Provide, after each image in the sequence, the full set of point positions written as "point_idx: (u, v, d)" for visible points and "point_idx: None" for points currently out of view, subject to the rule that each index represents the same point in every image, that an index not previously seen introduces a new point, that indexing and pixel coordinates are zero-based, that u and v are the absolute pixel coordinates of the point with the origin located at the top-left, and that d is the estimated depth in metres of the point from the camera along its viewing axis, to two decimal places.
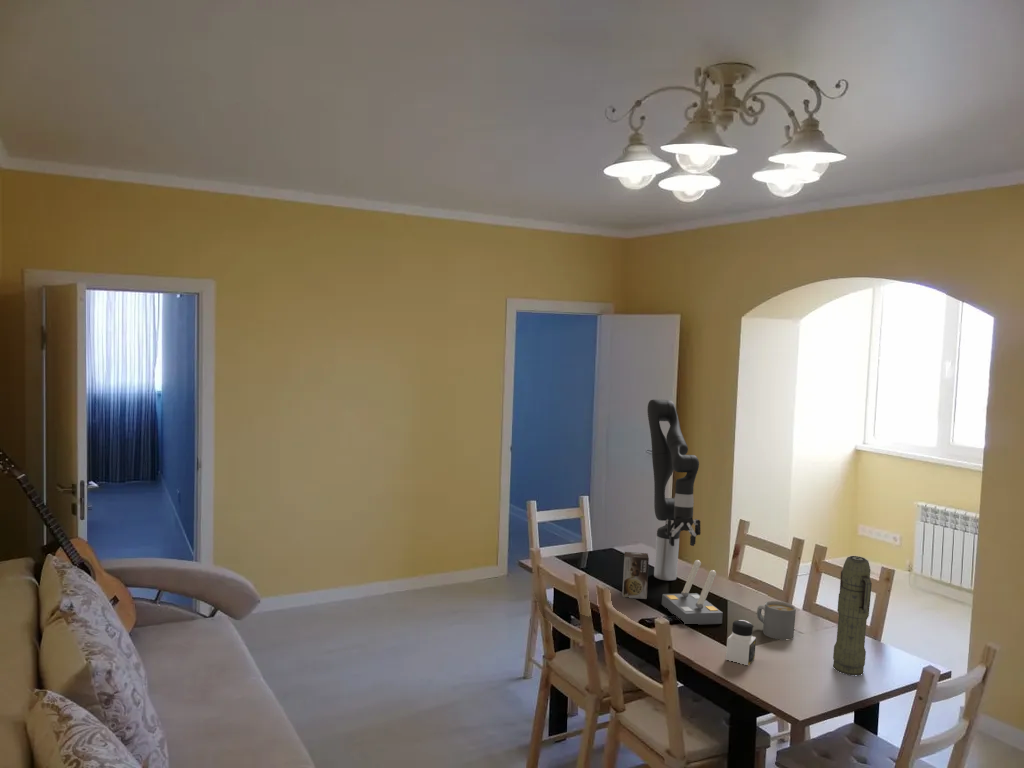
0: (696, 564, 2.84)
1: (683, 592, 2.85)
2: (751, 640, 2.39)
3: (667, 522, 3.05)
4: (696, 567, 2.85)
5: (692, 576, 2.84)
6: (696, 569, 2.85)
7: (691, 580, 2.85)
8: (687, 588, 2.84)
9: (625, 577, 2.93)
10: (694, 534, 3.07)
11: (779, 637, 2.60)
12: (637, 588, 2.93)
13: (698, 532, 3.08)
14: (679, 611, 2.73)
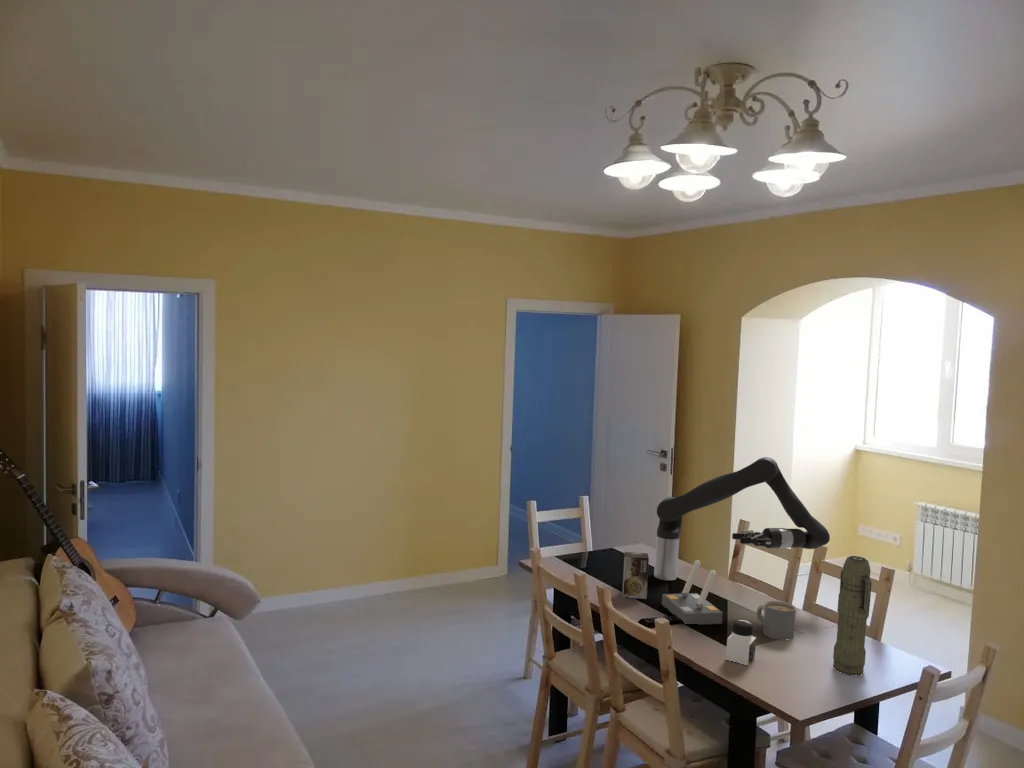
0: (696, 564, 2.84)
1: (683, 592, 2.85)
2: (751, 640, 2.39)
3: (768, 544, 2.84)
4: (696, 567, 2.85)
5: (692, 576, 2.84)
6: (696, 569, 2.85)
7: (691, 580, 2.85)
8: (687, 588, 2.84)
9: (625, 577, 2.93)
10: None
11: (779, 637, 2.60)
12: (637, 588, 2.93)
13: None
14: (679, 611, 2.73)
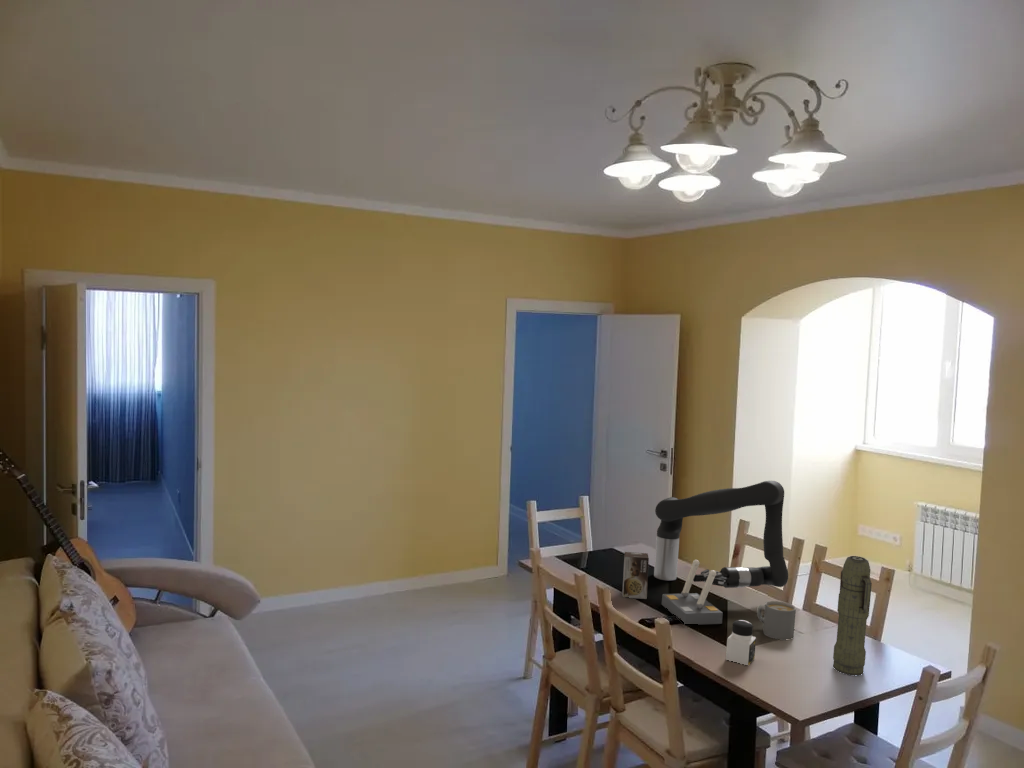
0: (695, 564, 2.84)
1: (683, 592, 2.85)
2: (751, 640, 2.39)
3: (720, 583, 2.82)
4: (695, 567, 2.84)
5: (691, 576, 2.84)
6: (695, 569, 2.84)
7: (690, 580, 2.84)
8: (687, 588, 2.84)
9: (625, 577, 2.93)
10: None
11: (779, 637, 2.60)
12: (637, 588, 2.93)
13: None
14: (679, 611, 2.73)
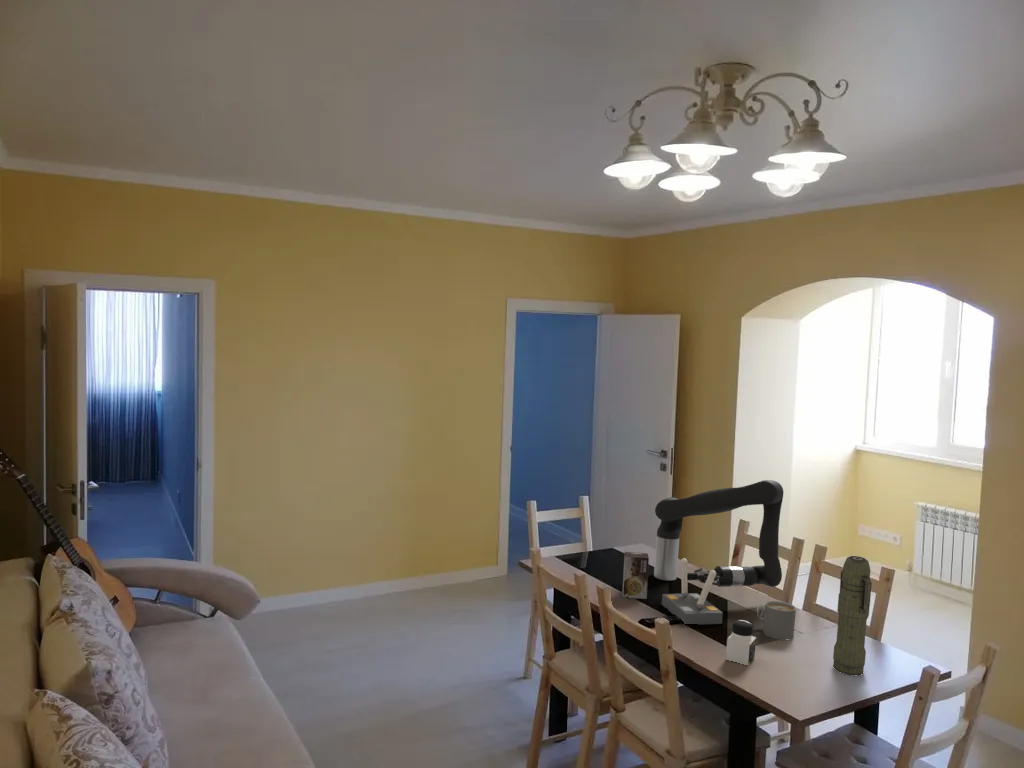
0: (683, 563, 2.83)
1: (682, 593, 2.85)
2: (751, 640, 2.39)
3: (713, 582, 2.81)
4: (684, 566, 2.83)
5: (684, 575, 2.84)
6: (685, 568, 2.84)
7: (685, 579, 2.84)
8: (684, 588, 2.84)
9: (625, 577, 2.93)
10: None
11: (779, 637, 2.60)
12: (637, 588, 2.93)
13: None
14: (679, 611, 2.73)
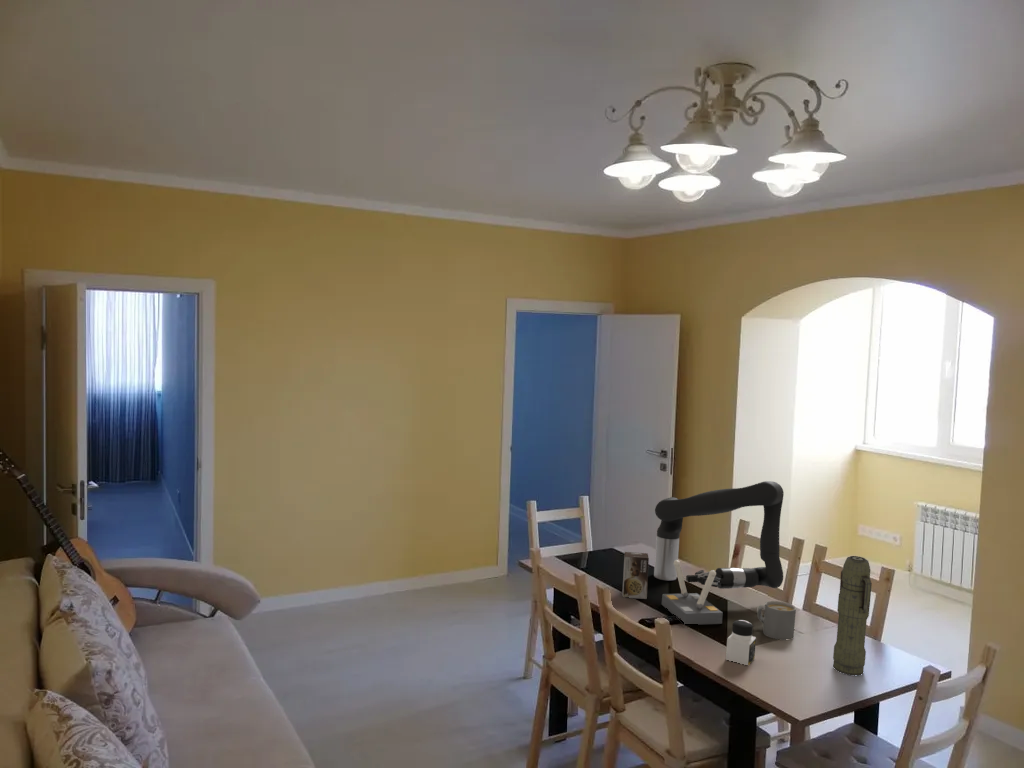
0: (676, 565, 2.83)
1: (682, 593, 2.85)
2: (751, 640, 2.39)
3: (714, 584, 2.81)
4: (678, 567, 2.83)
5: (680, 577, 2.83)
6: (679, 569, 2.83)
7: (681, 580, 2.84)
8: (683, 589, 2.84)
9: (625, 577, 2.93)
10: None
11: (779, 637, 2.60)
12: (637, 588, 2.93)
13: None
14: (679, 611, 2.73)
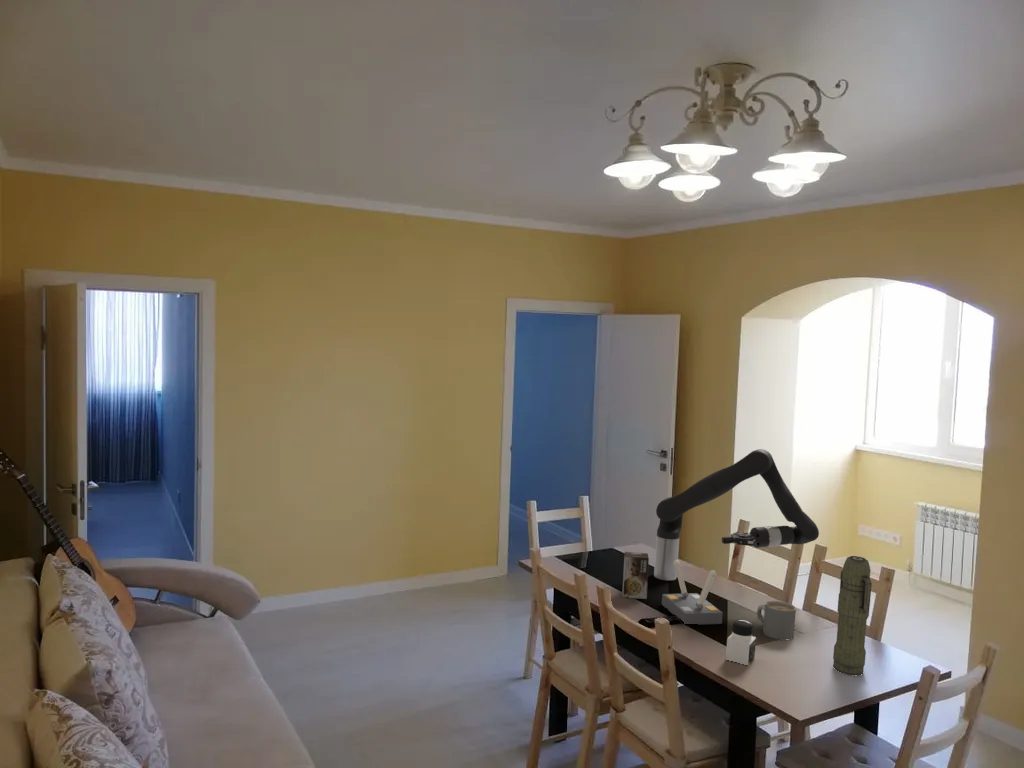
0: (676, 565, 2.83)
1: (682, 593, 2.85)
2: (751, 640, 2.39)
3: (749, 543, 2.84)
4: (678, 567, 2.83)
5: (680, 577, 2.83)
6: (679, 569, 2.83)
7: (681, 580, 2.84)
8: (683, 589, 2.84)
9: (625, 577, 2.93)
10: None
11: (779, 637, 2.60)
12: (637, 588, 2.93)
13: None
14: (679, 611, 2.73)
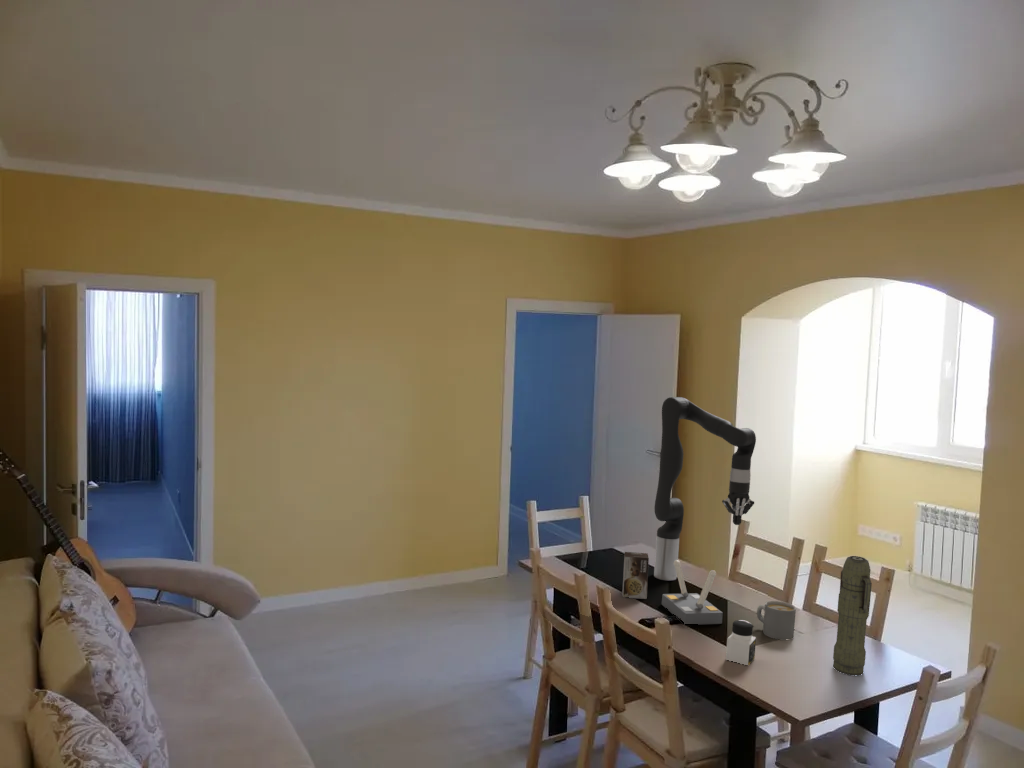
0: (676, 565, 2.83)
1: (682, 593, 2.85)
2: (751, 640, 2.39)
3: (725, 504, 2.96)
4: (678, 567, 2.83)
5: (680, 577, 2.83)
6: (679, 569, 2.83)
7: (681, 580, 2.84)
8: (683, 589, 2.84)
9: (625, 577, 2.93)
10: (741, 513, 2.96)
11: (779, 637, 2.60)
12: (637, 588, 2.93)
13: (744, 511, 2.97)
14: (679, 611, 2.73)
